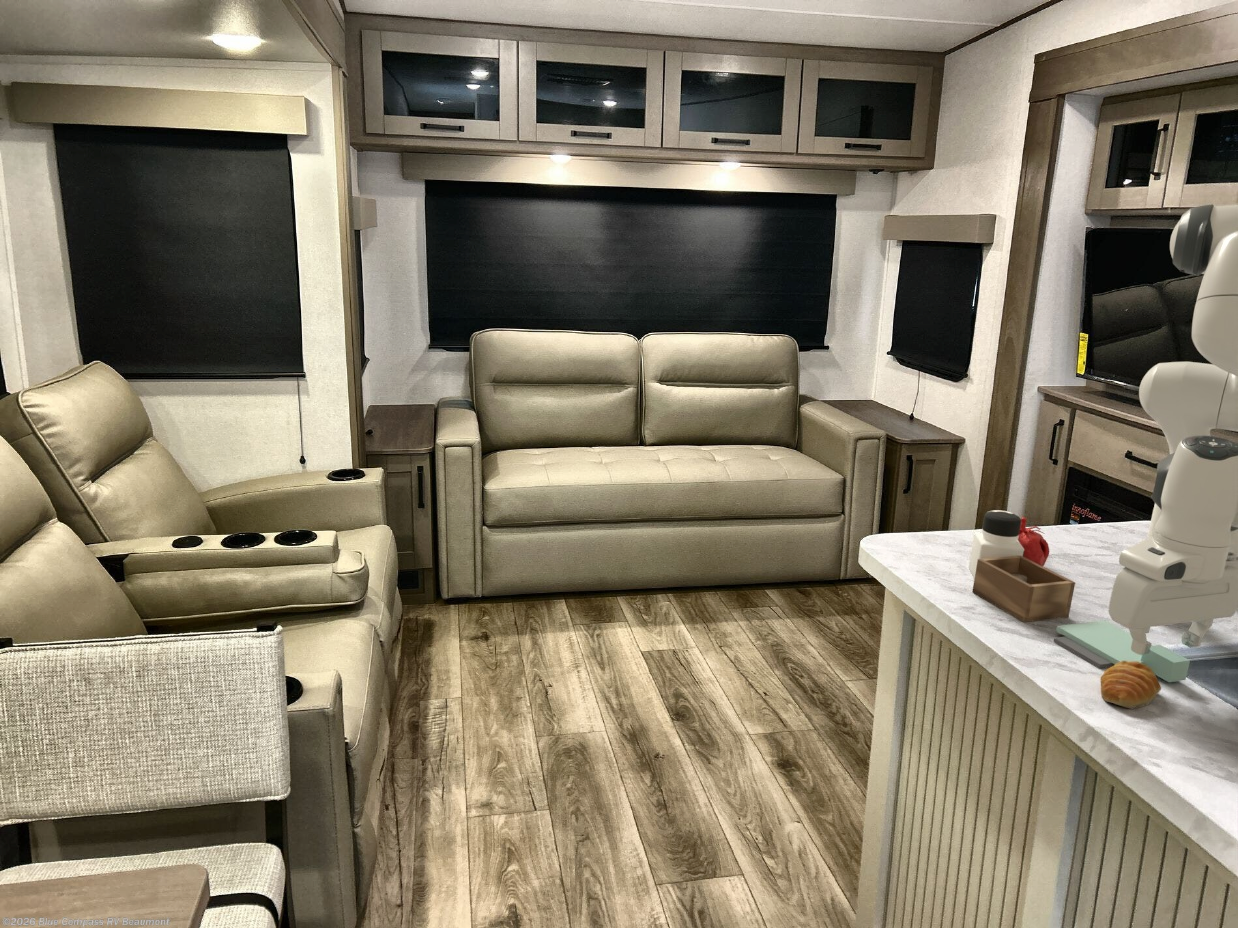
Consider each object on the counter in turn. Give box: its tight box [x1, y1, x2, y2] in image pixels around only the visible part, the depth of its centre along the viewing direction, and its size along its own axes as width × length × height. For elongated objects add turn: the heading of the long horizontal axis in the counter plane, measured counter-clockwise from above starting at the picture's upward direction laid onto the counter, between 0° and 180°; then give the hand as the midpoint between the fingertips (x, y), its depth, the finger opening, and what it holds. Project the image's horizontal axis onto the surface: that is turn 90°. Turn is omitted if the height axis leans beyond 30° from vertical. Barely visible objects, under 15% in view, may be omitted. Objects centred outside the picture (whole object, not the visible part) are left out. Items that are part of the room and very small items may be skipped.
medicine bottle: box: [968, 509, 1024, 579], centre depth 157 cm, size 7×7×12 cm
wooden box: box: [971, 556, 1076, 623], centre depth 147 cm, size 9×12×6 cm
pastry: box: [1100, 661, 1162, 710], centre depth 119 cm, size 9×7×4 cm
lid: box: [1055, 620, 1191, 683], centre depth 130 cm, size 10×17×3 cm, turn 18°
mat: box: [1052, 636, 1115, 669], centre depth 132 cm, size 10×9×1 cm
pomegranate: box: [1018, 516, 1050, 567], centre depth 164 cm, size 10×10×9 cm
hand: (1165, 648), depth 124 cm, fingers open, 8 cm apart
